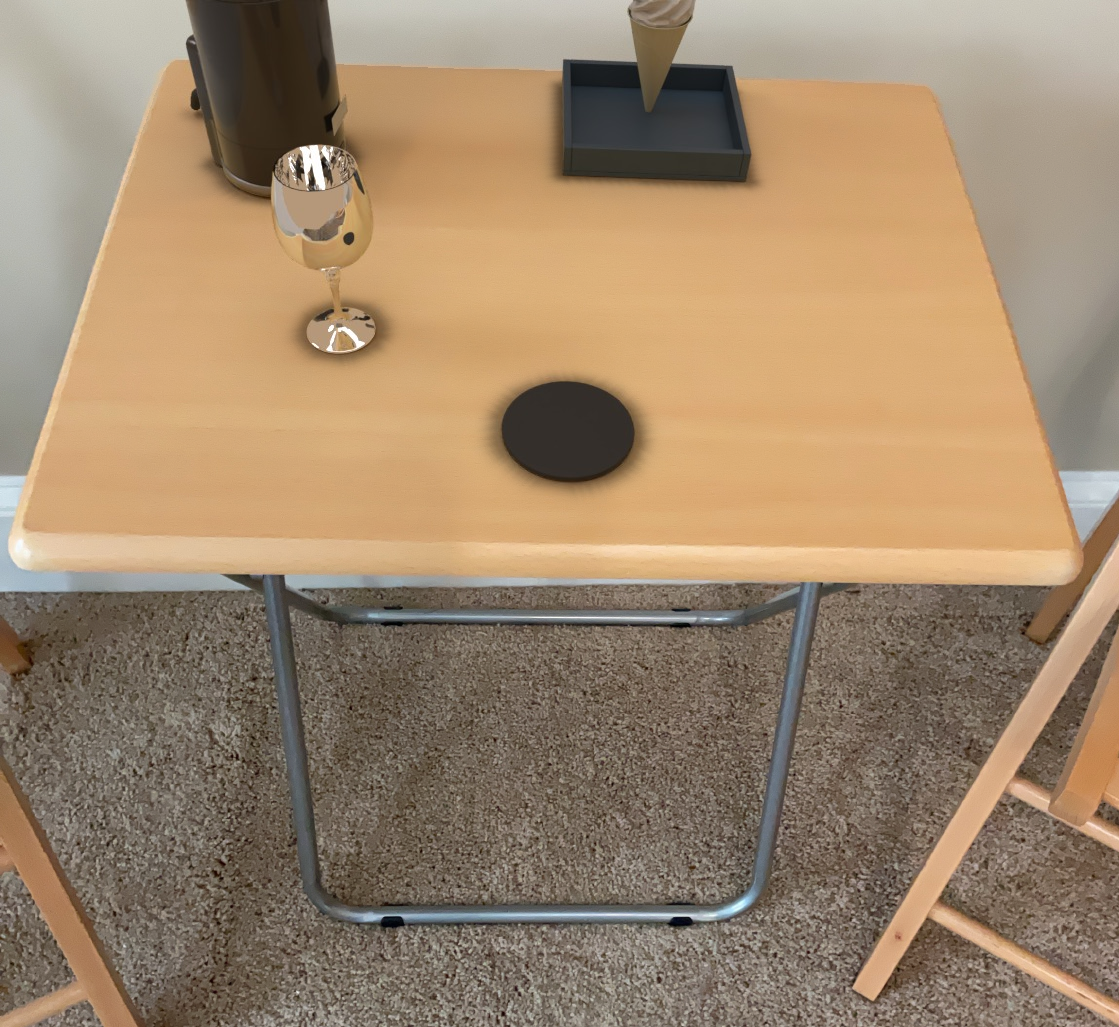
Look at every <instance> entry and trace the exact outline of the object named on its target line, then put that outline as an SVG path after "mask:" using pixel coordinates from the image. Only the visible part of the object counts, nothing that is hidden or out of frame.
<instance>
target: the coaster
mask: <svg viewBox="0 0 1119 1027" xmlns="http://www.w3.org/2000/svg"><path fill="white" fill-rule="evenodd" d="M501 437H502V441H503V444H504V447H505V450H506V451H507V452H508V454H509V455H510V457H511V458H512V460H514V461H515V462H516V463H517V464H518V465H519V466H520V467H522V468H523V469H525V470H526V471H528V472H530V473H532V474H534V475H536V476H539V477H541V478H543V479H548V480H553V481H557V482H558V481H559V482H567V483H569V482H583V481H584V482H585V481H589V480H595V479H597V478H599V477H602V476H605V475H606V474H609V473H611V472H612V471H613V470H615V469H617V468H618V467H619V466H620V465H621V464H622V463H624V461H625V460H626V458H627V457H628V456H629V454H630V452H631V450H632V447H633V444H634V440H635V424H634V421H633V418H632V416H631V414H630V412H629V410H628V409H627V408H626V406H625V405H624V403H622V402H621V400H619V399H618V398H617V397H616V396H614V395H613V394H611V393H610V392H608V391H607V390H604V389H603V388H601V387H598V386H596V385H593V384H590V383H589V384H588V383H585V382H579V381H570V380H562V381H561V380H559V381H558V380H557V381H551V382H545V383H541V384H539V385H536V386H533V387H531V388H529V389H527V390H525V391H524V392H522V393H521V394H519V395H518V396H517V397H515V399H514V400H513V401H511V403H510V404H509V405H508V406H507V409H506V411H505V412H504V415H503V418H502V422H501Z"/></svg>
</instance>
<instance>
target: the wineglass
mask: <svg viewBox="0 0 1119 1027" xmlns="http://www.w3.org/2000/svg"><path fill="white" fill-rule="evenodd" d="M371 203H372V202H371V199H370V194H369V191H368V189H367V186H366V183H365V181H364V178H363V175H362V173H361V171H360V168H359V165H358V163H357V161H356V159H355V157H354V156H353V155H352V154H350V152H349V151H348V152H347V151H345V150H342V149H340V148H337V147H333V146H328V145H308V146H302V147H298V148H295V149H292V150H290V151H288V152H286V153H285V154H283V155H282V156H280V157H279V158H278V160H277V161H276V162H275V164H274V167H273V174H272V185H271V197H270V204H271V205H270V209H271V220H272V224H273V230H274V233H275V236H276V239H277V241H278V243H279V246H280V247H281V248H282V250H283V252H284V254H286V255H287V256H288V257H289V258H290V259H291V260H292V261H293V262H295V263H296V264H297V265H299V266H302V267H303V268H306V269H308V270H312V271H317V272H323V278H324V280H325V283H326V284H327V285H328V288H329V290H330V293H331V297H332V304H333V307H332V308H329V309H326V310H323V311H322V312H319V313H317V314H316V315H315V316H313V318H312V319H311V320H310V321H309V322H308V324H307V327H306V330H305V332H306V338H307V340H308V342H309V343H310V344H311V345H312V346H313V347H314V348H316V349H317V350H319V351H321V352H324V353H328V354H332V355H333V354H335V355H342V354H343V355H344V354H349V353H353V352H356V351H359V350H361V349H363V348H365V347H366V346H367V345H368V344H369V343H370V342H371V341H372V340H373V339H374V338H375V336H376V330H377V328H376V323H375V321H374V319H373V318H372V316H371V315H369V314H368V313H367V312H365V311H364V310H361V309H359V308H355V307H348V306H342V303H341V297H340V282H341V275H342V274H341V270H343V269H345V268H347V267H349V266H351V265H353V264H355V263H356V262H357V261H359V260H360V259H361V258H362V257H363V256H364V255H365V253H366V252H367V250H368V248H369V246H370V244H371V242H372V239H373V234H374V213H373V209H372V208H373V207H372V204H371Z"/></svg>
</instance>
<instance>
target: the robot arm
mask: <svg viewBox="0 0 1119 1027" xmlns="http://www.w3.org/2000/svg"><path fill="white" fill-rule="evenodd" d="M185 4H186V5H185V6H186V8H187V13H188V18H189V21H190V26H191V30H192V34H190V35H189V36H188V37H187V39H186V41H185V48H186V53H187V57H188V60H189V65H190V68H191V73H192V77H193V82H194V85H195V86H194V87H195V88H193V90H192V91H191V93H190V104H189V106H190V108H191V110H193V111H199V110H200V109H201V114H202V118H203V123H204V126H205V129H206V130H205V131H206V136H207V139H208V142H209V148H210V151H211V155H212V159H213V163H214V164H216V165H219V166H221V167H222V169H223V172H224V175H225V177H226V178H227V180H228V181H229V182H230V183H231V184H232V185H234V187H237V188H238V189H240V190H242V191H244V192H246V193H248V194H249V193H250V194H252V195H257V196H261V197H267V198H271V185H272V174H273V167H274V164H275V162H276V161H277V160H278V158H279V157H280V156H282V155H283V154H285V153H286V152H288V151H290V150H292V149H295V148H298V147H302V146H308V145H328V146H333V147H337V148H340V149H342V150H345V151H347V152H348V153H349V146H348V143H347V140H346V134H345V133H346V132H345V125H344V119H345V118H346V115H347V114H348V111H349V110H348V101H347V96H346V95H347V94H344V96H343V98H342V99H341V93H340V85H339V77H338V70H337V62H336V54H335V47H334V39H333V38H334V37H333V31H332V23H331V15H330V8H329V0H185Z"/></svg>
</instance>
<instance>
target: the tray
mask: <svg viewBox="0 0 1119 1027" xmlns="http://www.w3.org/2000/svg"><path fill="white" fill-rule="evenodd" d="M561 71H562V72H561V74H562V75H561V139H562V141H561V142H562V144H561V146H562V176H573V177H575V176H576V177H603V178H605V177H606V178H631V179H632V178H633V179H634V178H636V179H660V180H661V179H662V180H687V181H689V180H690V181H691V180H692V181H719V182H743V183H744V182H747V177H748V174H749V173H748V172H749V168H750V164H751V160H752V150H751V145H750V140H749V137H748V136H749V135H748V131H747V126H746V122H745V118H744V113H743V107H742V104H741V103H742V102H741V99H740V95H739V94H740V93H739V90H738V85H737V81H736V75H735V71H734V65H725V64H724V65H723V64H701V63H699V64H698V63H677V62H676V63H673V62H672V64H671V66H670V69H669V71H668V74H667V76H666V78H665V81H664V83H663V85H662V88H661V90H660V92H659V95H658V97H657V99H656V102H655V104H654V106H653V109H652V111H651V112H650V113H648V112H646V111H645V106H644V100H643V94H642V88H641V82H640V76H639V70H638V64H637V61H626V60H625V61H624V60H623V61H622V60H621V61H620V60H600V59H599V60H598V59H597V60H596V59H574V58H572V59H569V58H568V59H567V58H563V59H562V70H561Z"/></svg>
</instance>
